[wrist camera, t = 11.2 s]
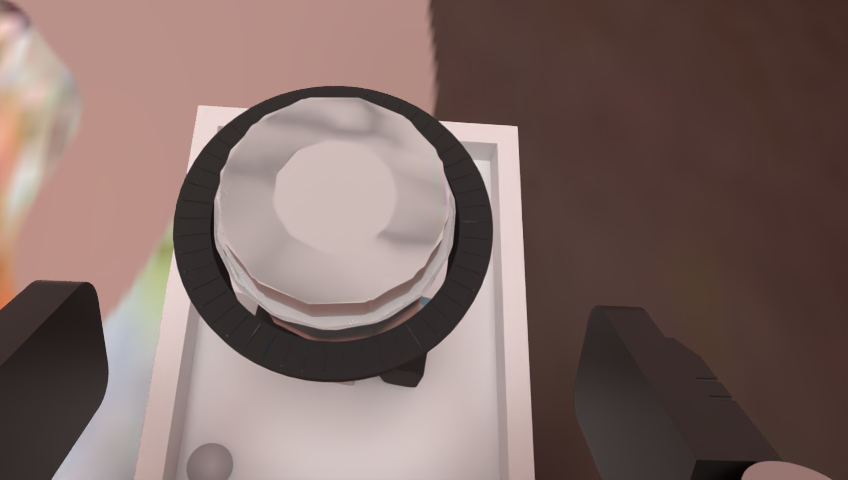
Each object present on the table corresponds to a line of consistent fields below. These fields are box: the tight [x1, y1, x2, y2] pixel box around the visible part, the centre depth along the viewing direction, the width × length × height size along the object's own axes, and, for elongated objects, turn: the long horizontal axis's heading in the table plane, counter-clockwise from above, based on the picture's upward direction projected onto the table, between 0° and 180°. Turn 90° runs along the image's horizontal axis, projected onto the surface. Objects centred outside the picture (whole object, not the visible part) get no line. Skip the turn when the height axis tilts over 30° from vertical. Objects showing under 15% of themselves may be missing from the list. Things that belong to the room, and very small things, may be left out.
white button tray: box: [134, 105, 535, 480], centre depth 19 cm, size 10×12×2 cm
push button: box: [173, 86, 493, 388], centre depth 14 cm, size 7×5×10 cm
